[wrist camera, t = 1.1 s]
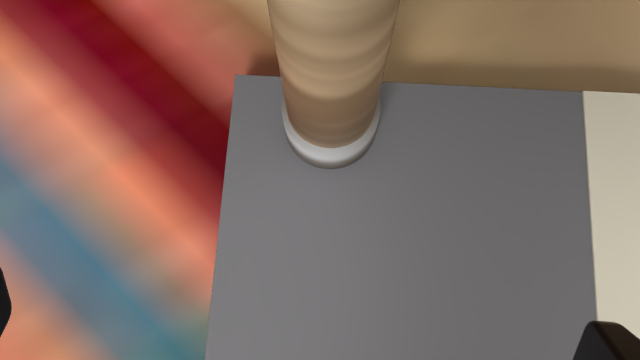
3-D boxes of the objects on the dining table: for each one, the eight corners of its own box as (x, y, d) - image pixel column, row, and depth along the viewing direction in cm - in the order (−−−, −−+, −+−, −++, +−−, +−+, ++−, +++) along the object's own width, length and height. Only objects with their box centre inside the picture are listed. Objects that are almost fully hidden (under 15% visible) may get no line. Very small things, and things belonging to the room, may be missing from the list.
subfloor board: (773, 575, 19) (805, 593, 18) (193, 532, 20) (183, 546, 18) (714, 110, 23) (736, 98, 22) (239, 86, 24) (235, 73, 23)
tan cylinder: (374, 171, 22) (428, -9, 10) (281, 166, 22) (231, -18, 10) (377, 86, 23) (431, -170, 11) (288, 81, 23) (249, -177, 11)
